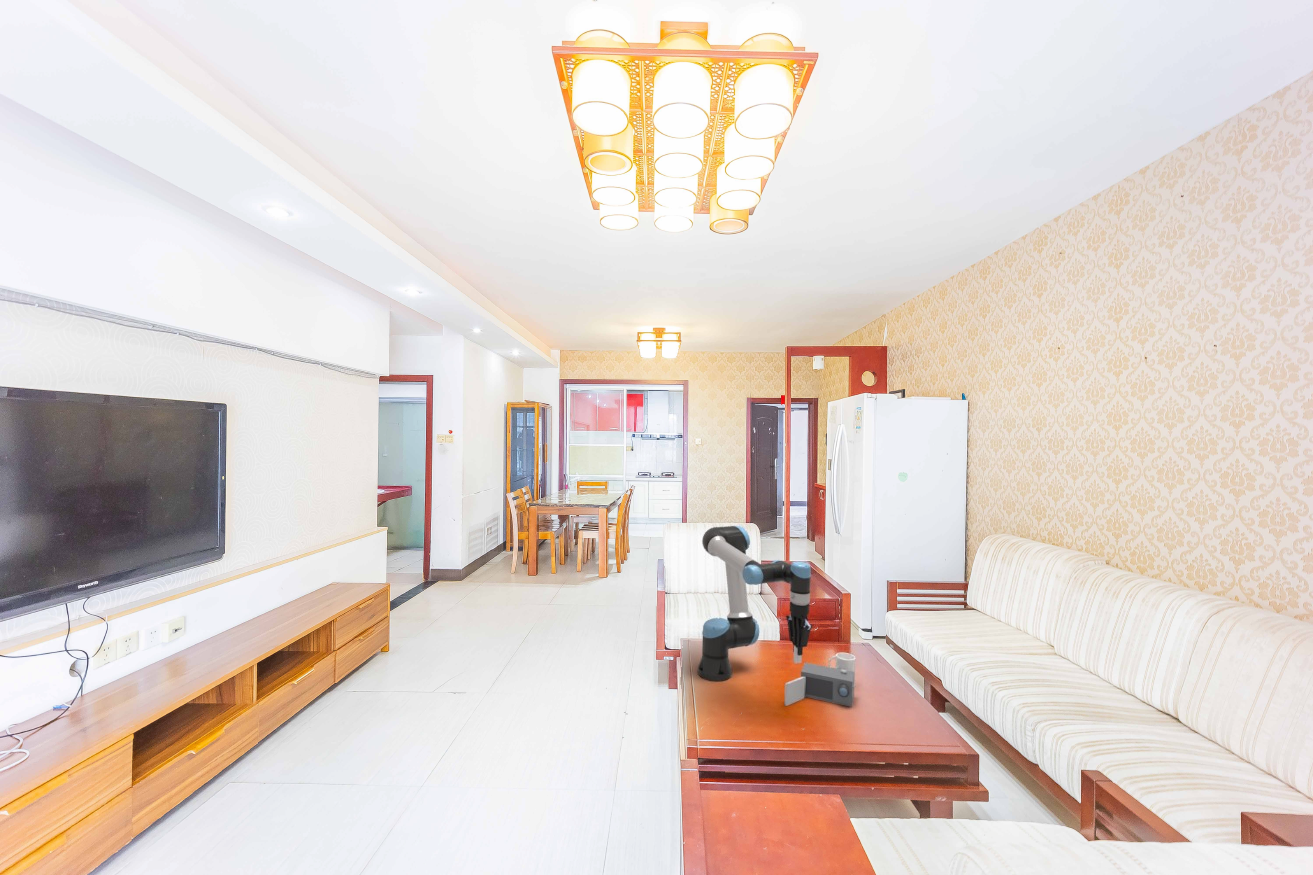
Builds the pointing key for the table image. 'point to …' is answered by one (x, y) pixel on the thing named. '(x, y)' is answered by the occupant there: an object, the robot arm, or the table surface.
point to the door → (795, 690)
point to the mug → (845, 662)
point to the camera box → (829, 684)
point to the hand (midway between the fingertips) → (797, 662)
